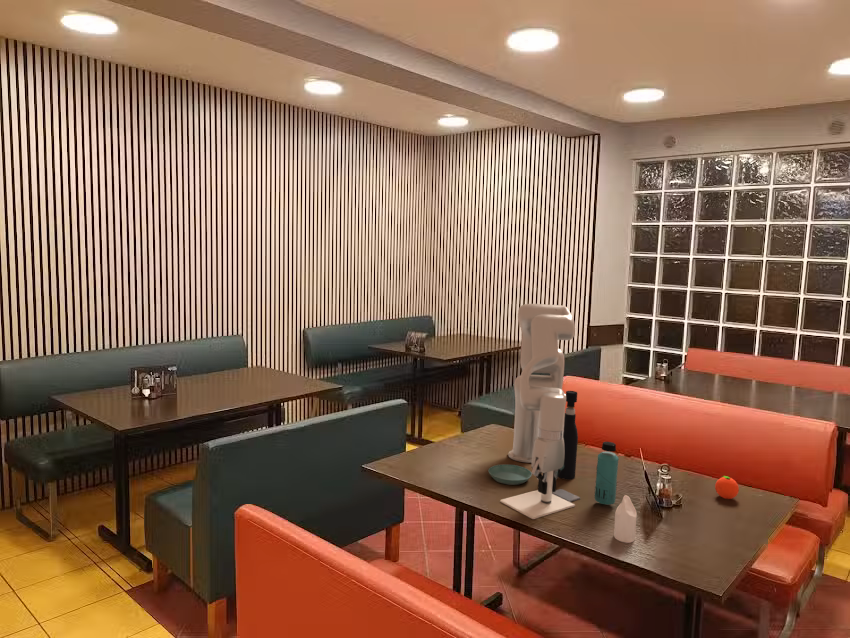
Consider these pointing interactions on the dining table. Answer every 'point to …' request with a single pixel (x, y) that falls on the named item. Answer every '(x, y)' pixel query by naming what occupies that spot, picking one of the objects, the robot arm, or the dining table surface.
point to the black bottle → (570, 438)
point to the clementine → (726, 487)
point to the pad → (536, 504)
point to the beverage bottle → (606, 475)
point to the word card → (566, 495)
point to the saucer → (509, 474)
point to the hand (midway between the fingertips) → (546, 491)
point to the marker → (548, 488)
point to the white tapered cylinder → (625, 521)
